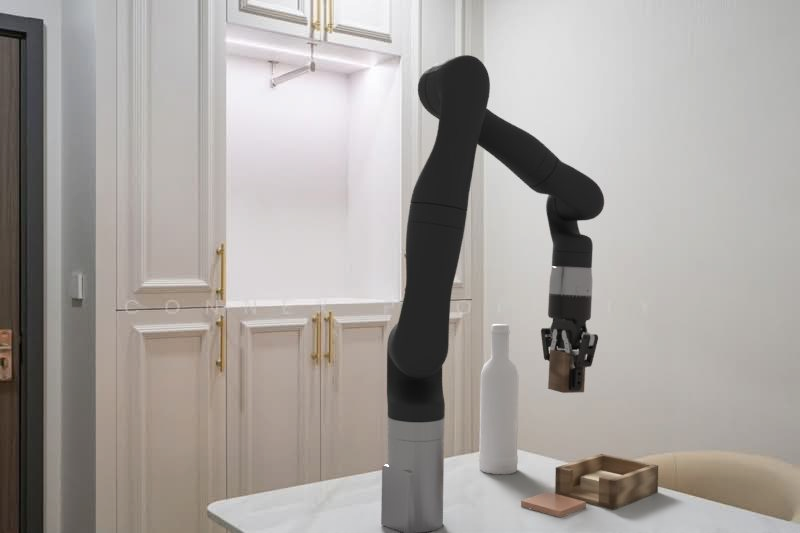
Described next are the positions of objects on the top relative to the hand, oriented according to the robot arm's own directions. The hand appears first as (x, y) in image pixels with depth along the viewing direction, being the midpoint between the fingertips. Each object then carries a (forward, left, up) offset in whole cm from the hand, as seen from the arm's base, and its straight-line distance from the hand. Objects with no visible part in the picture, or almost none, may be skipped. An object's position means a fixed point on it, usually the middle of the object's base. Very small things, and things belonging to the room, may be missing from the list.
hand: (565, 387), depth 137 cm
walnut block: (0, 0, -1) cm, 1 cm away
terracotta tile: (-4, -1, -20) cm, 21 cm away
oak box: (+10, -3, -20) cm, 23 cm away
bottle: (+8, +21, -21) cm, 31 cm away
